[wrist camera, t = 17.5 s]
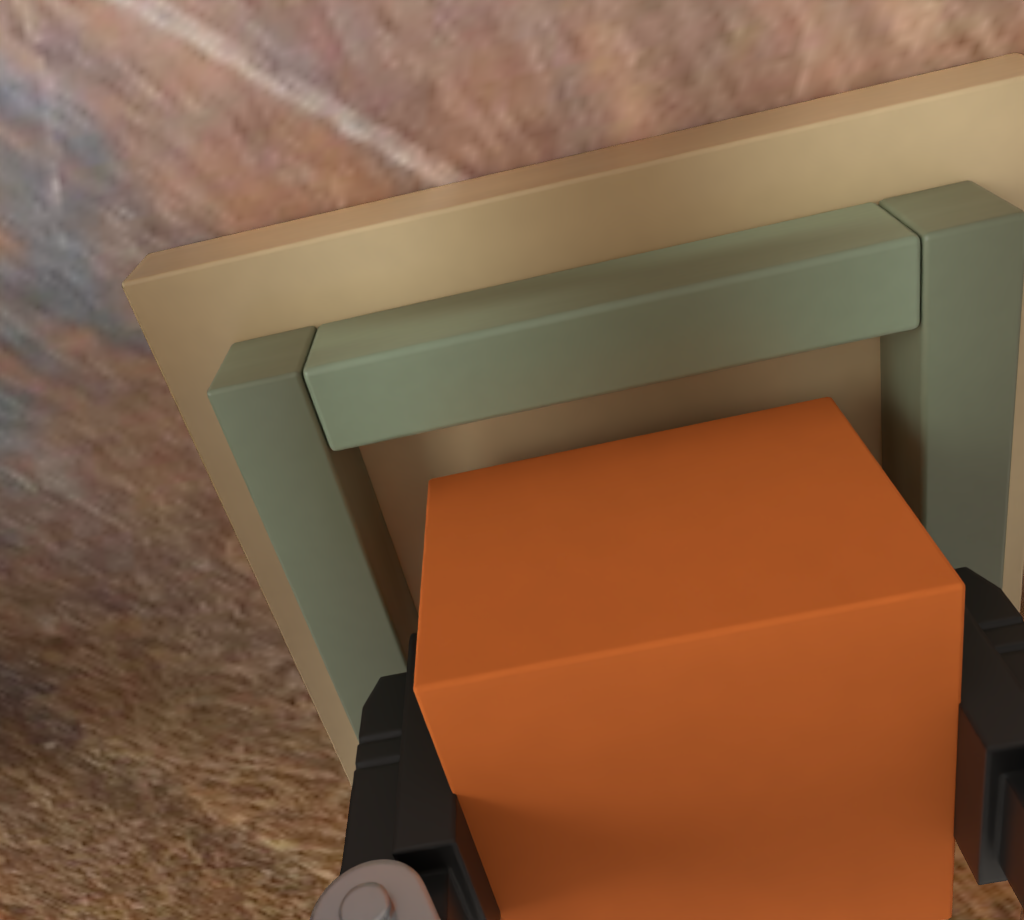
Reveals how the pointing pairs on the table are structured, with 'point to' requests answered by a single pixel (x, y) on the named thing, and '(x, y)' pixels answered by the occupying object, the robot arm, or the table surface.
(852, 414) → the square tray
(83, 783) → the table surface
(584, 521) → the orange square block
